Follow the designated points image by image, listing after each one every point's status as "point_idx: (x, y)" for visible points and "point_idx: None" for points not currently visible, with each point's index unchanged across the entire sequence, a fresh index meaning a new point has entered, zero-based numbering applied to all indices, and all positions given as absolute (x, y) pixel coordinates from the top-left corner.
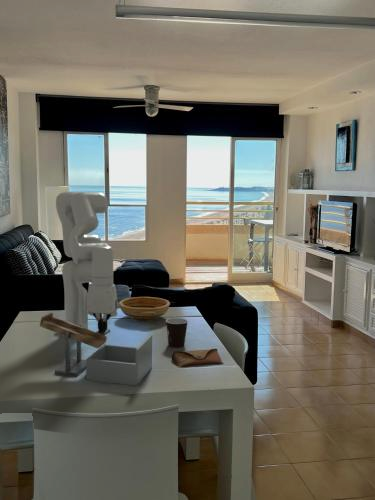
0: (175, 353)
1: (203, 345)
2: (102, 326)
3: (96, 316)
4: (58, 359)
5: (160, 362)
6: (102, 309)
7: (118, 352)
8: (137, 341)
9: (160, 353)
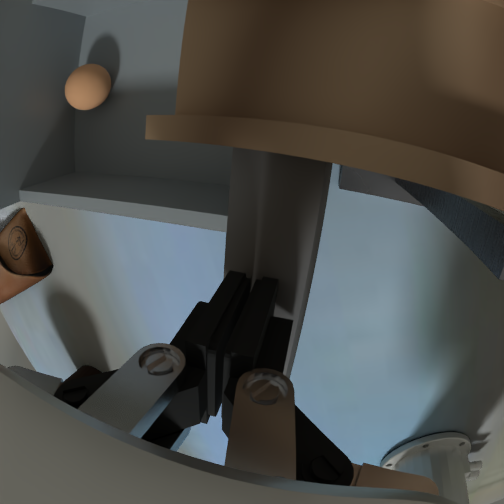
0: (27, 270)
1: (51, 369)
2: (214, 304)
3: (281, 434)
4: None
5: (70, 243)
6: (17, 479)
7: (163, 194)
8: (213, 424)
9: (102, 326)
